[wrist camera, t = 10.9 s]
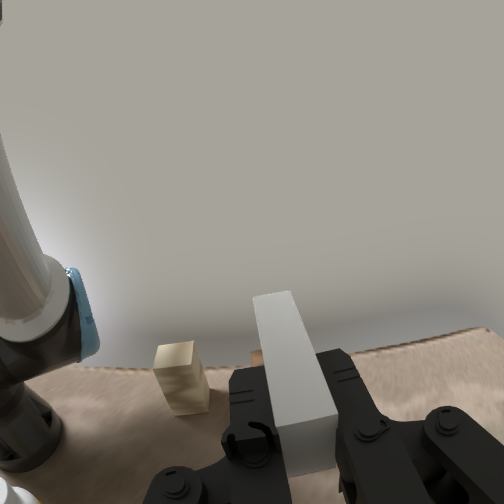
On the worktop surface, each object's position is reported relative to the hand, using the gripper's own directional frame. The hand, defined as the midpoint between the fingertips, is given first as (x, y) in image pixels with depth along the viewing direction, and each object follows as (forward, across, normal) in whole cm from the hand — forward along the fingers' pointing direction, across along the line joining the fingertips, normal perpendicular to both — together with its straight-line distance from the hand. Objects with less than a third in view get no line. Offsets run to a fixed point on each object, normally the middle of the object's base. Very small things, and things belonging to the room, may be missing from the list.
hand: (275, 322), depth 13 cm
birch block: (+22, -12, -26) cm, 36 cm away
